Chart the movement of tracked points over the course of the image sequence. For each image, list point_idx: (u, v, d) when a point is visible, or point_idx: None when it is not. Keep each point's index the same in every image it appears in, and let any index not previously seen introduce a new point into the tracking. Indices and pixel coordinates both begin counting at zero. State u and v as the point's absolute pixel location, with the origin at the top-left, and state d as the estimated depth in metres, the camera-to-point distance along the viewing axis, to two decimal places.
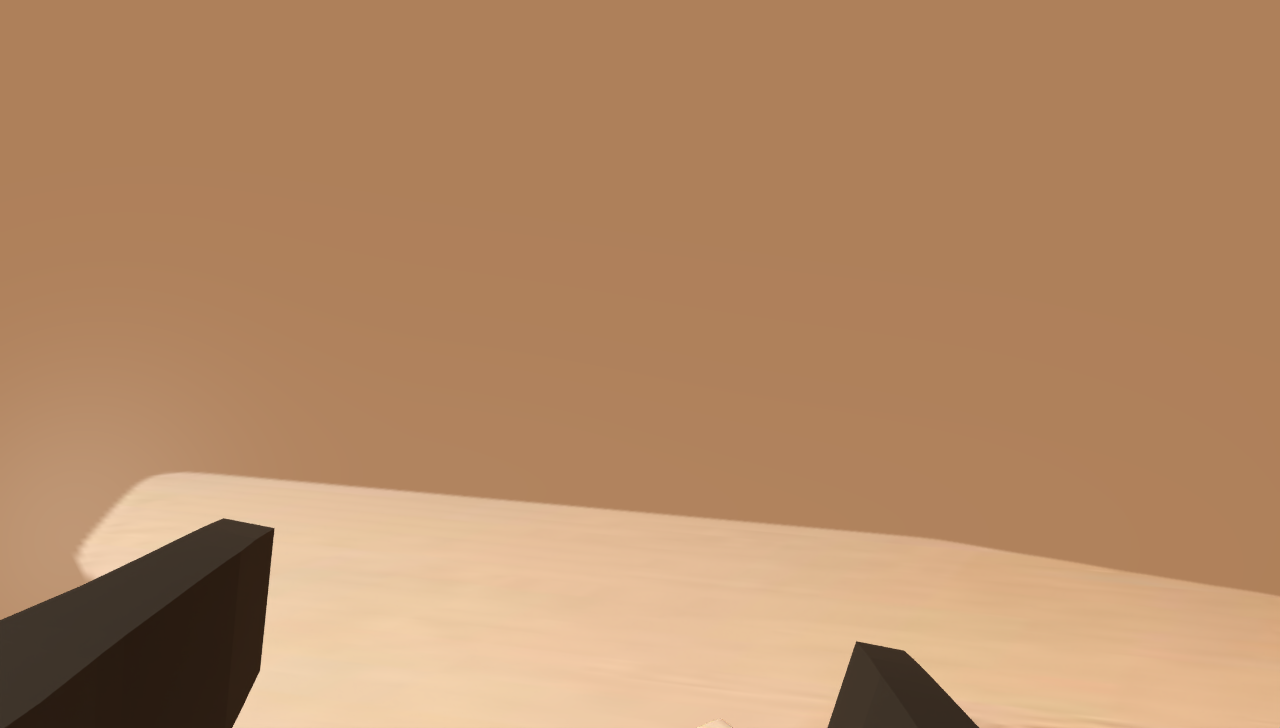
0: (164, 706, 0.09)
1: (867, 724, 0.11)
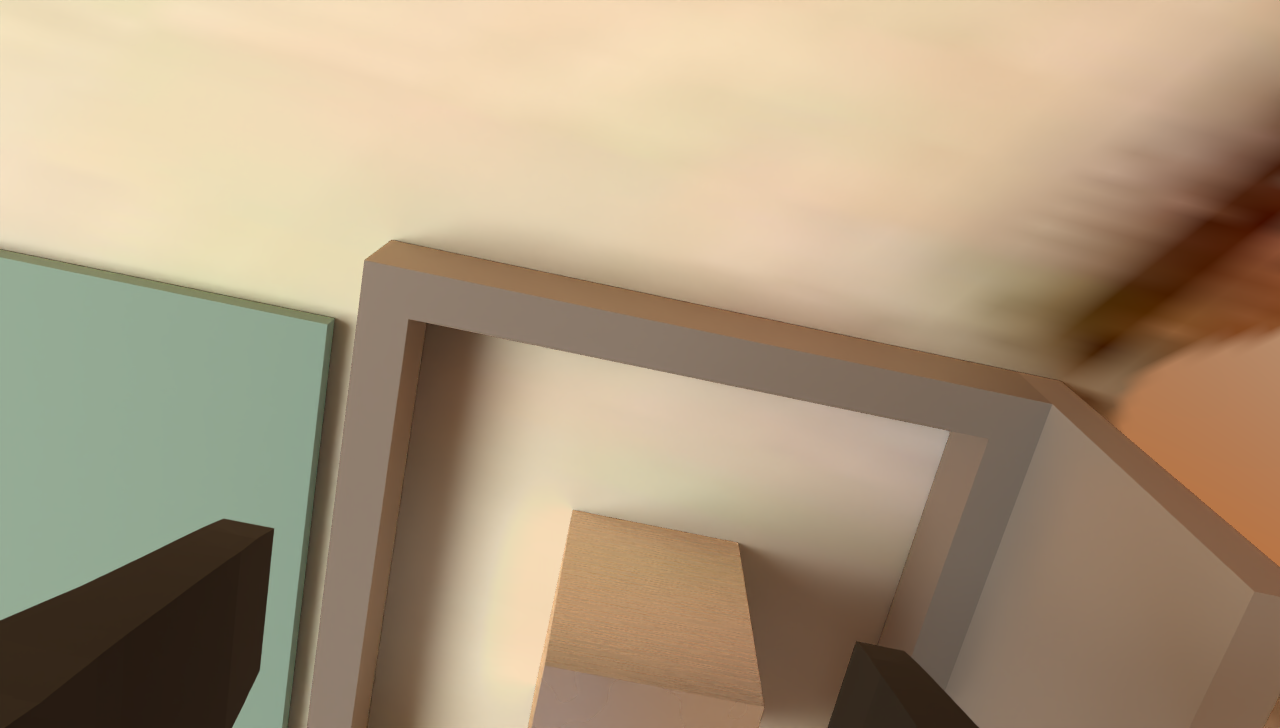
0: (165, 707, 0.09)
1: (867, 724, 0.11)
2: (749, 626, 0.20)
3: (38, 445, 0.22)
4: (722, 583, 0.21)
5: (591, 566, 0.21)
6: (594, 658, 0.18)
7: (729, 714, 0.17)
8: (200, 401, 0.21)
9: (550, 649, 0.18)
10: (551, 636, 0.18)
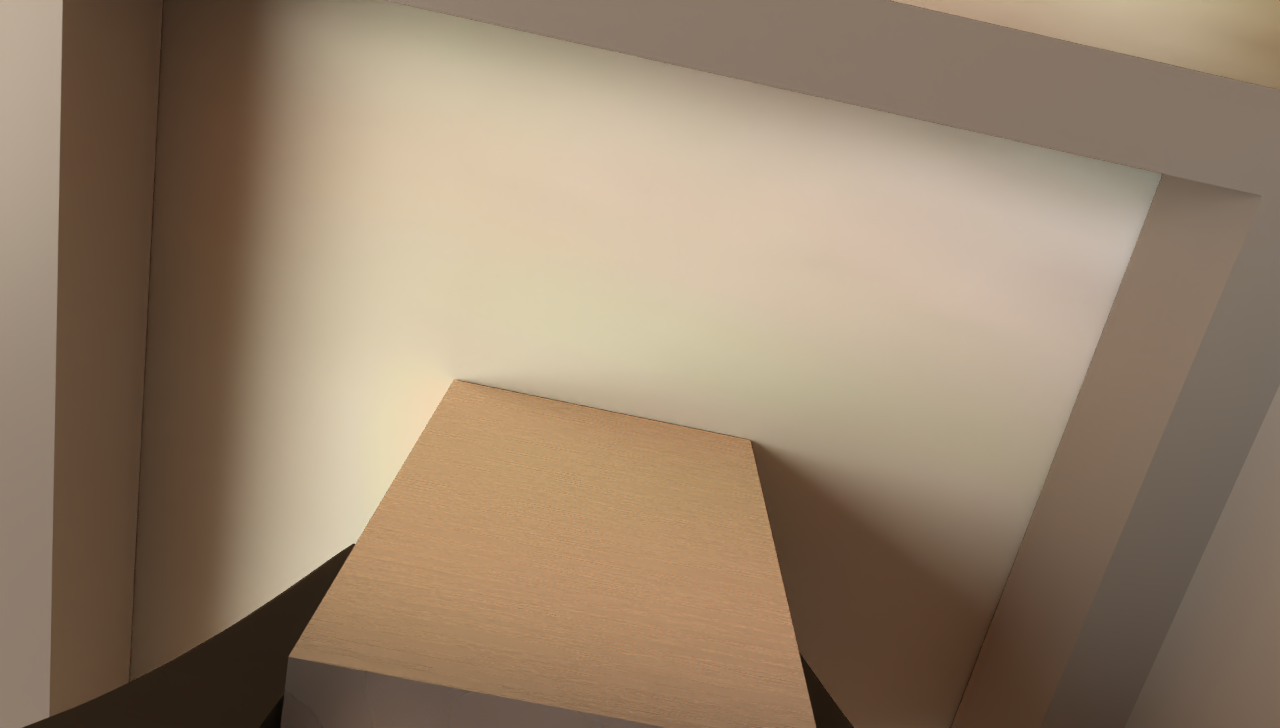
0: None
1: None
2: (778, 578, 0.10)
3: None
4: (721, 502, 0.11)
5: (464, 463, 0.10)
6: (423, 640, 0.08)
7: None
8: None
9: (317, 620, 0.07)
10: (331, 590, 0.08)
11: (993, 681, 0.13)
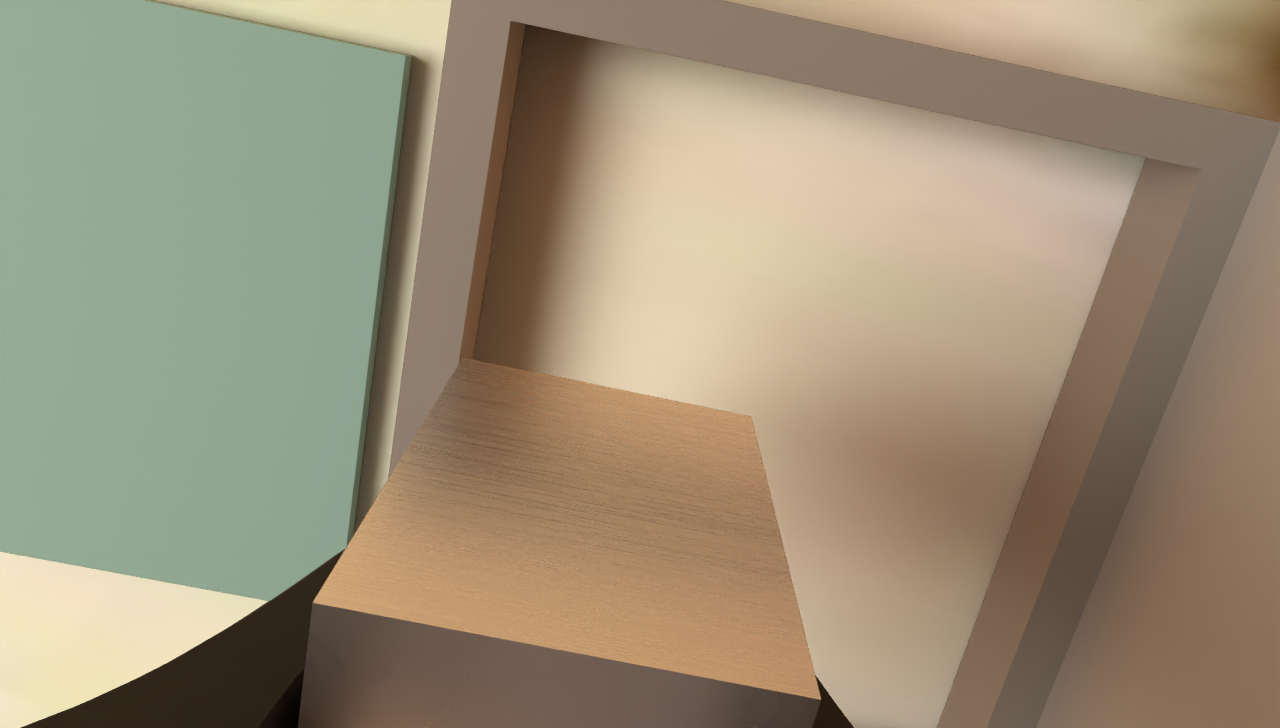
0: None
1: None
2: (778, 541, 0.10)
3: (63, 215, 0.19)
4: (723, 472, 0.11)
5: (474, 433, 0.11)
6: (439, 591, 0.08)
7: (740, 717, 0.08)
8: (253, 157, 0.18)
9: (339, 571, 0.08)
10: (351, 545, 0.08)
11: (1037, 496, 0.20)
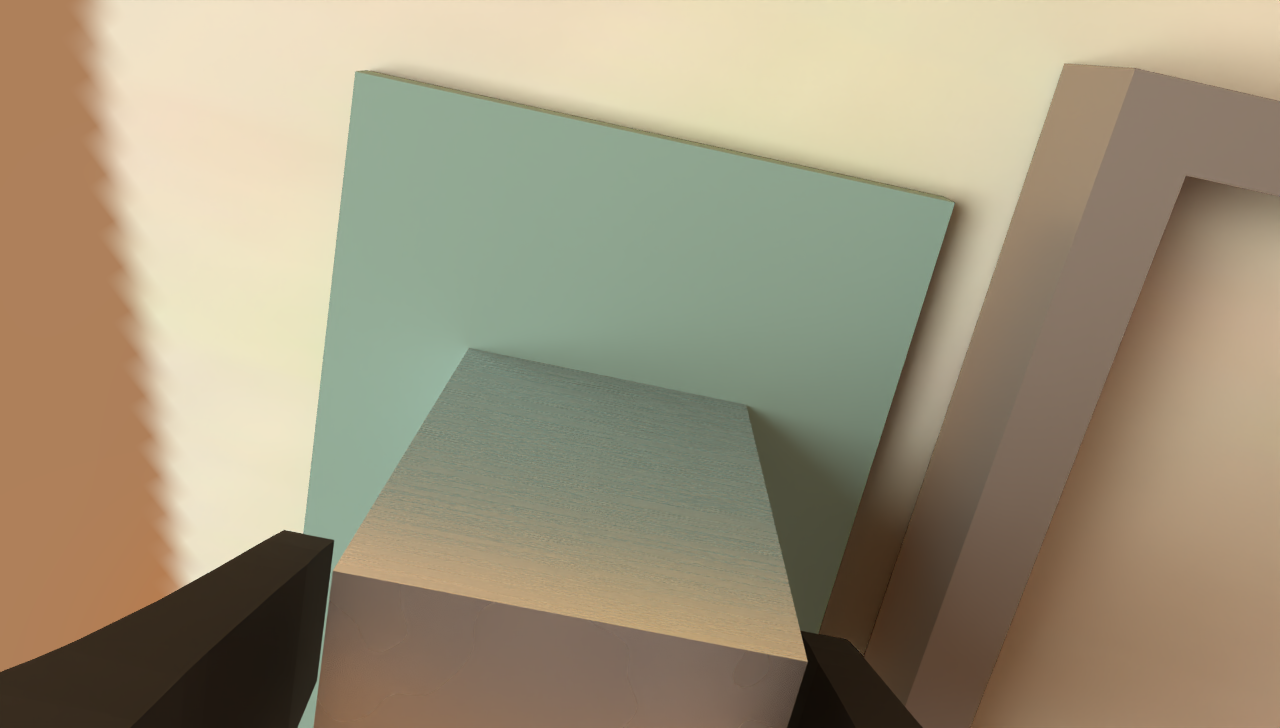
0: (238, 720, 0.09)
1: (805, 712, 0.11)
2: (769, 520, 0.10)
3: None
4: (719, 456, 0.12)
5: (481, 419, 0.11)
6: (451, 560, 0.08)
7: (732, 677, 0.08)
8: (722, 331, 0.13)
9: (356, 543, 0.08)
10: (367, 519, 0.09)
11: None
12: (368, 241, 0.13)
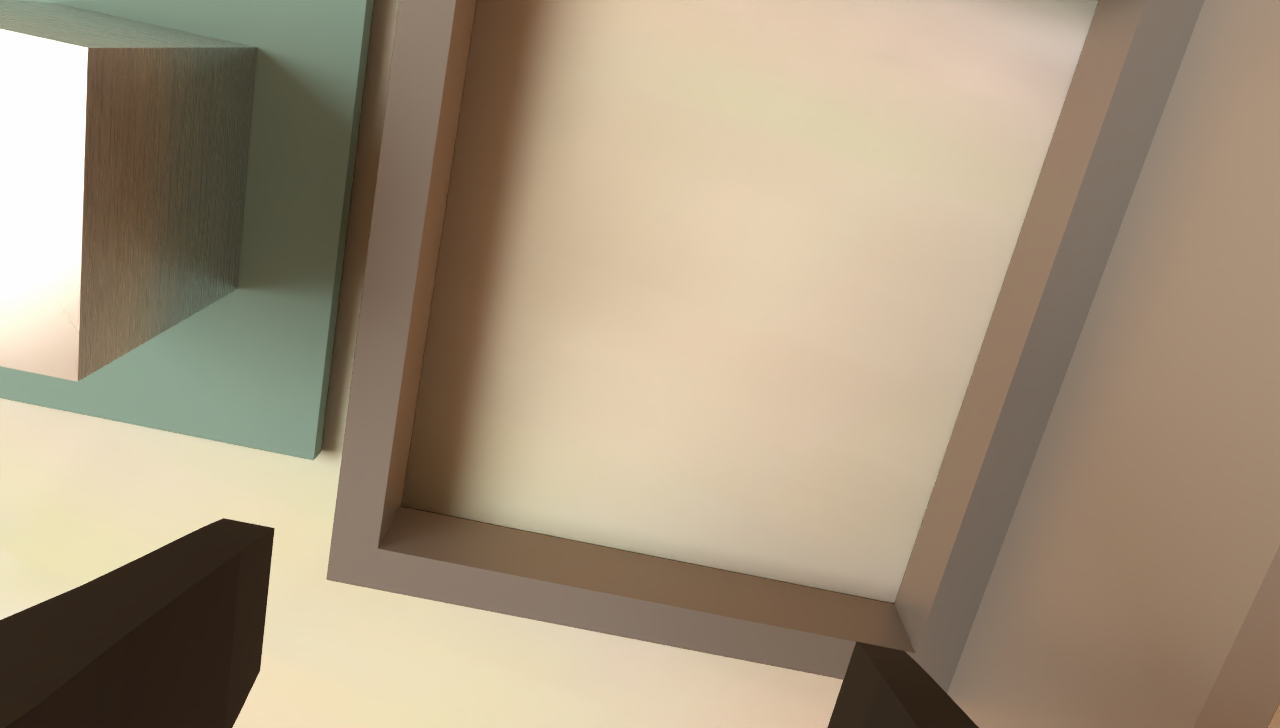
0: (164, 705, 0.09)
1: (867, 724, 0.11)
2: (170, 47, 0.16)
3: None
4: (183, 41, 0.17)
5: (6, 4, 0.17)
6: None
7: (45, 61, 0.13)
8: None
9: None
10: None
11: (996, 340, 0.21)
12: None
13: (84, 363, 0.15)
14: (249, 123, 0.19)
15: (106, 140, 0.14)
